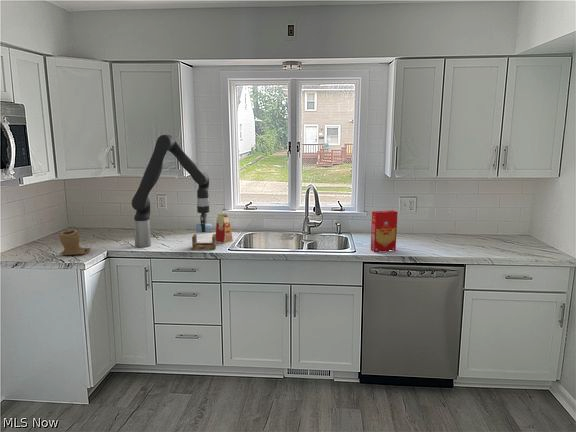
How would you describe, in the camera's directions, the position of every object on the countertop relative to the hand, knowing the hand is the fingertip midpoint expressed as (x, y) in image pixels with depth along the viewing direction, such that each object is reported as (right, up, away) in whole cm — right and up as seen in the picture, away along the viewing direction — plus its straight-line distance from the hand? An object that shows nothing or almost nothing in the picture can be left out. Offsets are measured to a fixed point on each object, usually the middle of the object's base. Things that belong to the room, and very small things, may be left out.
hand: (204, 231), depth 280 cm
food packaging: (+114, -13, -2) cm, 114 cm away
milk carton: (+10, -8, +19) cm, 22 cm away
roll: (0, +2, 0) cm, 2 cm away
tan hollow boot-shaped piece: (-75, -14, -15) cm, 78 cm away
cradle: (0, -11, +2) cm, 11 cm away
